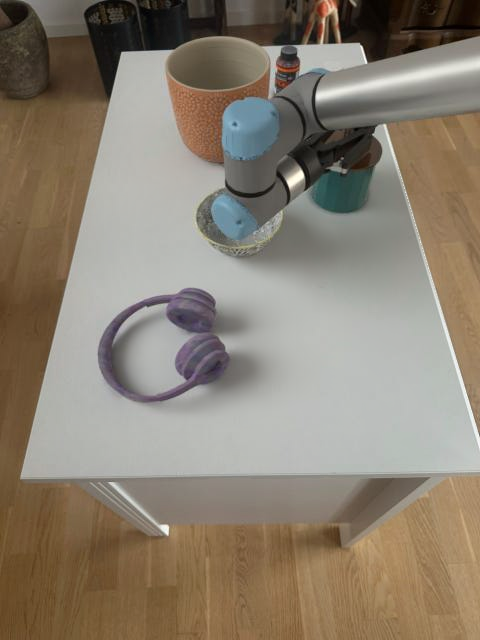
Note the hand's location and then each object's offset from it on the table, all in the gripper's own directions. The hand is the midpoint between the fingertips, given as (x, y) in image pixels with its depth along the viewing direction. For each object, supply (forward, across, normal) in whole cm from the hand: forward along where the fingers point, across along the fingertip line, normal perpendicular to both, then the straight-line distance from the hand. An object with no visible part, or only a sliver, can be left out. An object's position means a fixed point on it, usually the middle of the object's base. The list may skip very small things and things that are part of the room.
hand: (370, 112), depth 82 cm
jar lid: (-5, 0, -5) cm, 8 cm away
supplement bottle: (+15, -32, -16) cm, 39 cm away
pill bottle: (+16, -20, -16) cm, 30 cm away
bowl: (-30, -6, -16) cm, 34 cm away
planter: (-10, -29, -16) cm, 35 cm away
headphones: (-56, +2, -16) cm, 58 cm away
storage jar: (-5, 0, -16) cm, 17 cm away
